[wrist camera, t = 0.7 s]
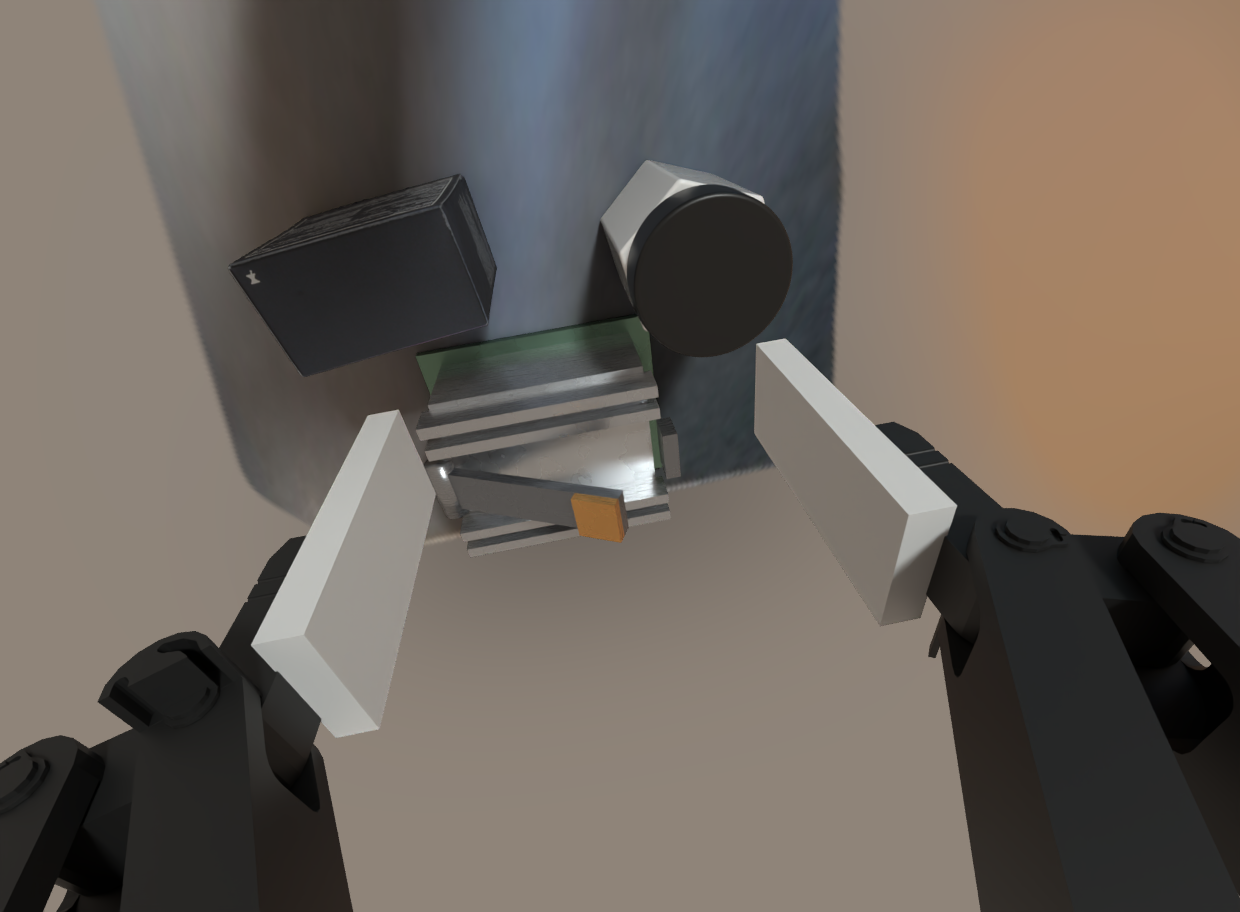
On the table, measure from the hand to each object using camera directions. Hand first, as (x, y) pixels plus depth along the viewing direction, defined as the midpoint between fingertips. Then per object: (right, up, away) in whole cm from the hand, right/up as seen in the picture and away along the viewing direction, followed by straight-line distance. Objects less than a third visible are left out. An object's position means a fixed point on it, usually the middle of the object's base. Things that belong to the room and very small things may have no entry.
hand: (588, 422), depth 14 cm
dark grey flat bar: (-5, -3, +21) cm, 22 cm away
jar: (+4, +15, +22) cm, 27 cm away
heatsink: (-5, +3, +29) cm, 29 cm away
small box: (-13, +13, +21) cm, 27 cm away
